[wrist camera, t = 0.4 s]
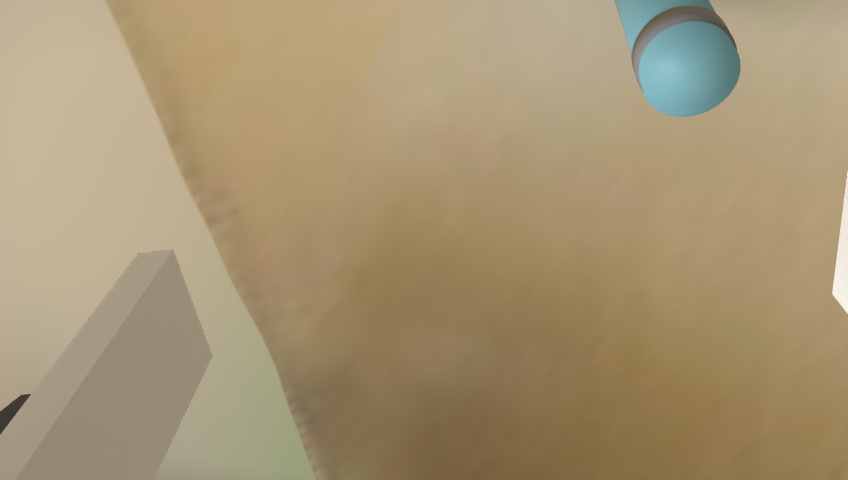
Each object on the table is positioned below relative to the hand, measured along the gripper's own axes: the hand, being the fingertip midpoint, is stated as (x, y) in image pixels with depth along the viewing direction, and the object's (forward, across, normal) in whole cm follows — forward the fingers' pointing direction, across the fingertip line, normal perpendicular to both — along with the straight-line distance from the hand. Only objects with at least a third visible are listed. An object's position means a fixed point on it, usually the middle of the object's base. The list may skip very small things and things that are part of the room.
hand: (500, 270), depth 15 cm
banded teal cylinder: (+27, +8, 0) cm, 29 cm away
